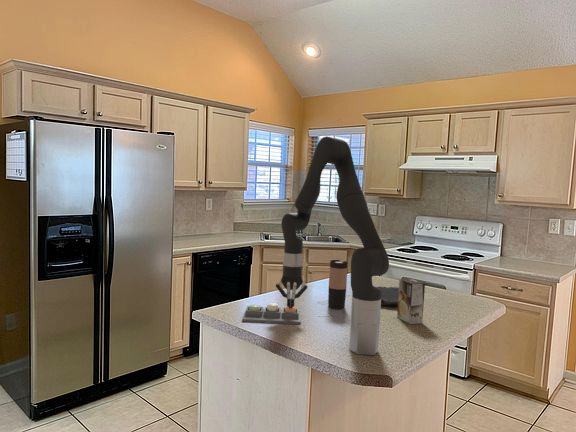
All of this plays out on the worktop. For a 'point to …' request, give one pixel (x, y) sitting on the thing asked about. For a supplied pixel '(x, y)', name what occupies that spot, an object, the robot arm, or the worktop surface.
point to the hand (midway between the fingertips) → (290, 307)
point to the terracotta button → (290, 309)
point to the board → (389, 296)
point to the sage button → (254, 307)
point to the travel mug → (337, 284)
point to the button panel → (272, 316)
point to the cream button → (272, 307)
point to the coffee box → (411, 301)
